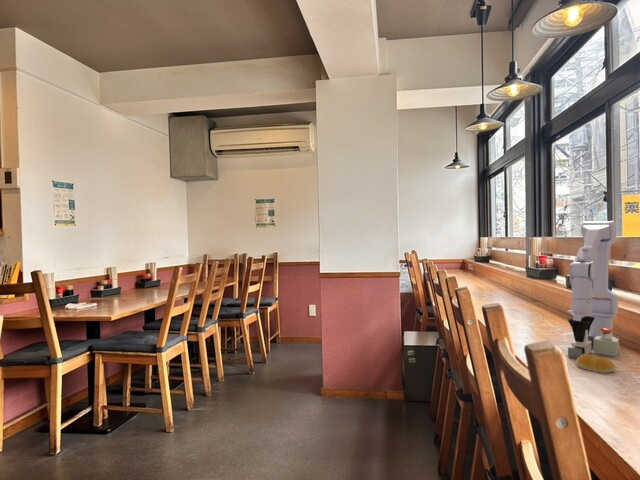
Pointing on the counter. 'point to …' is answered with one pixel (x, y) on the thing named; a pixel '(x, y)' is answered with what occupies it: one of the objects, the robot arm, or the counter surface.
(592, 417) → the counter surface
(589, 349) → the carriage
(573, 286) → the robot arm
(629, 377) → the counter surface
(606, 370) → the bread roll
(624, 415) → the counter surface
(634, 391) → the counter surface
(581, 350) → the rail
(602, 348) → the box
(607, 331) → the red push knob
